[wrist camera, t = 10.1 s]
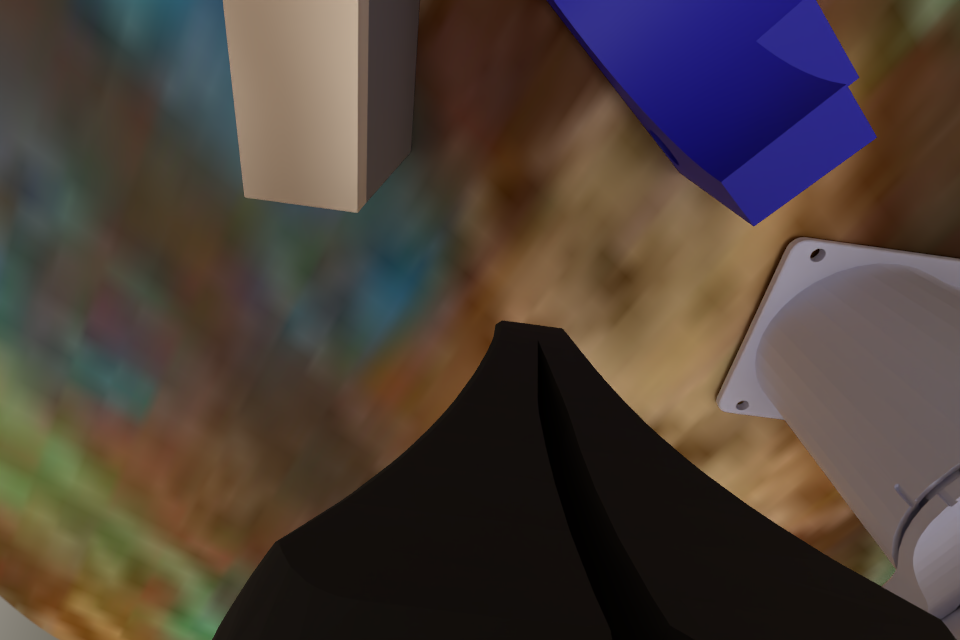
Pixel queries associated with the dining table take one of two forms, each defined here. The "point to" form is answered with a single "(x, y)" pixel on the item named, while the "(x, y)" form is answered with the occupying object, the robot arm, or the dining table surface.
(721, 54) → the blue half-round bracket
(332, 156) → the wall board
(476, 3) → the dining table surface
